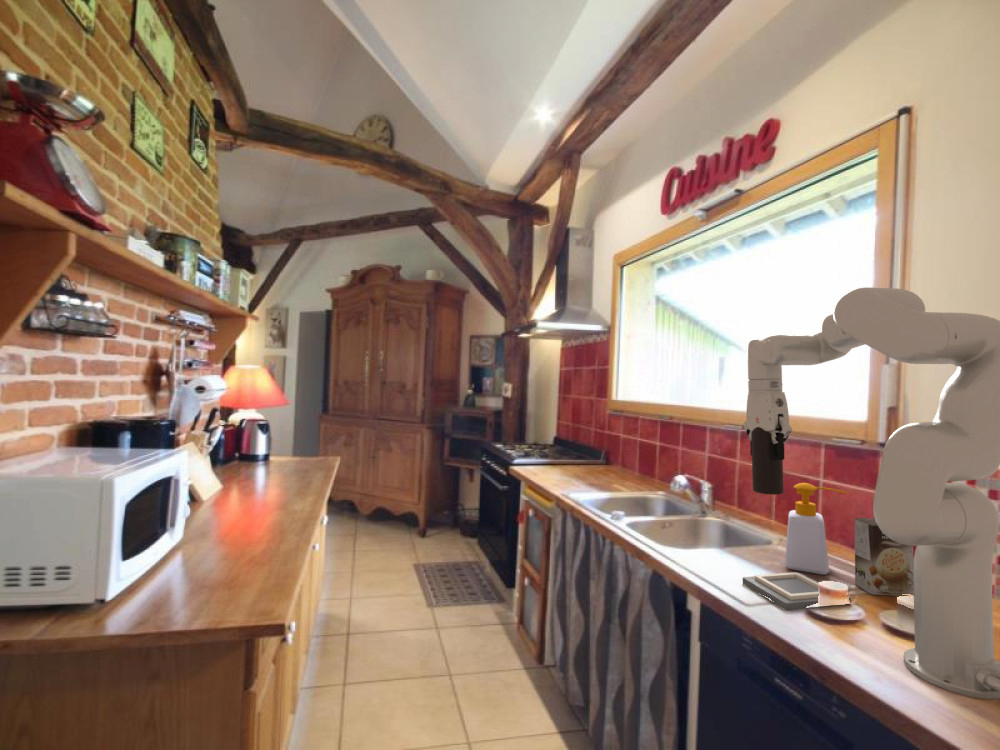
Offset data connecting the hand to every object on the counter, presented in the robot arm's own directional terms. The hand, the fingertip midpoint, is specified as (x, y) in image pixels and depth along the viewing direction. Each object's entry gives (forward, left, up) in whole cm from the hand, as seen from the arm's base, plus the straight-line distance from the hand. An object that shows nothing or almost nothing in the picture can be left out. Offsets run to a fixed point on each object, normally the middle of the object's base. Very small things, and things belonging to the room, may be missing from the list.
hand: (767, 457), depth 120 cm
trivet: (-9, +1, -30) cm, 31 cm away
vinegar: (0, 0, -9) cm, 9 cm away
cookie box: (-11, -21, -30) cm, 39 cm away
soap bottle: (+3, -16, -30) cm, 34 cm away
